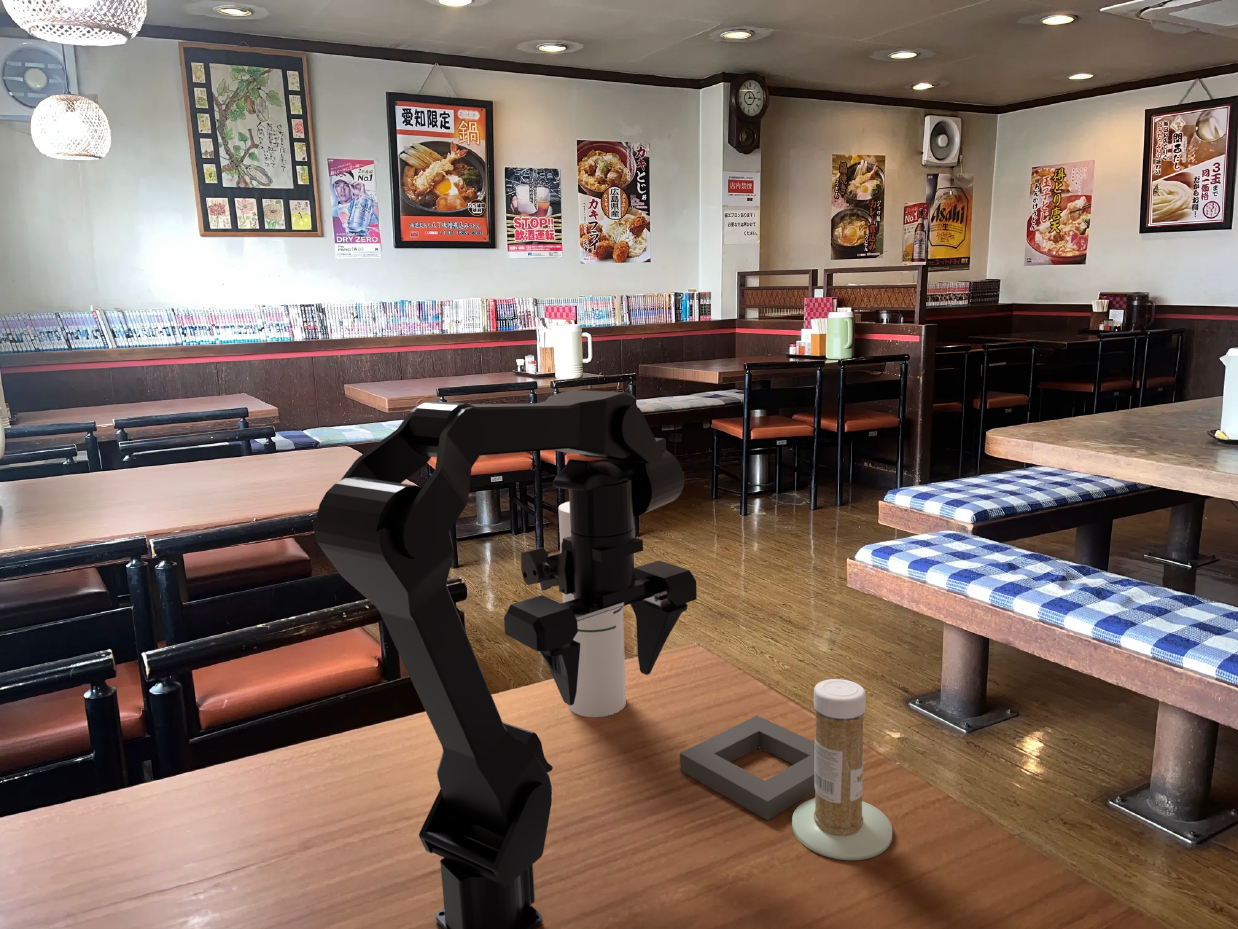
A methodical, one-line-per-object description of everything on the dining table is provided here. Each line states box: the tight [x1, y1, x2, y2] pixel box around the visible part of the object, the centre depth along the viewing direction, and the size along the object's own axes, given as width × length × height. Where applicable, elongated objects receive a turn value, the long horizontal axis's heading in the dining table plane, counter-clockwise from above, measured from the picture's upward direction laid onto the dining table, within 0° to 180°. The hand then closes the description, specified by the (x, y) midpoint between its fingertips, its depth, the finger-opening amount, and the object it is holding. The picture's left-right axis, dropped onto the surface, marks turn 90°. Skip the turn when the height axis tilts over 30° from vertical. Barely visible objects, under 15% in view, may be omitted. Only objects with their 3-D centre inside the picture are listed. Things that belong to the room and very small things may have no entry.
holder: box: [679, 715, 815, 821], centre depth 91 cm, size 12×12×2 cm
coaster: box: [791, 797, 893, 861], centre depth 81 cm, size 9×9×1 cm
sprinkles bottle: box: [813, 678, 867, 835], centre depth 80 cm, size 5×5×14 cm
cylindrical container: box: [558, 501, 627, 718], centre depth 105 cm, size 7×7×25 cm
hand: (608, 688), depth 83 cm, fingers open, 9 cm apart
